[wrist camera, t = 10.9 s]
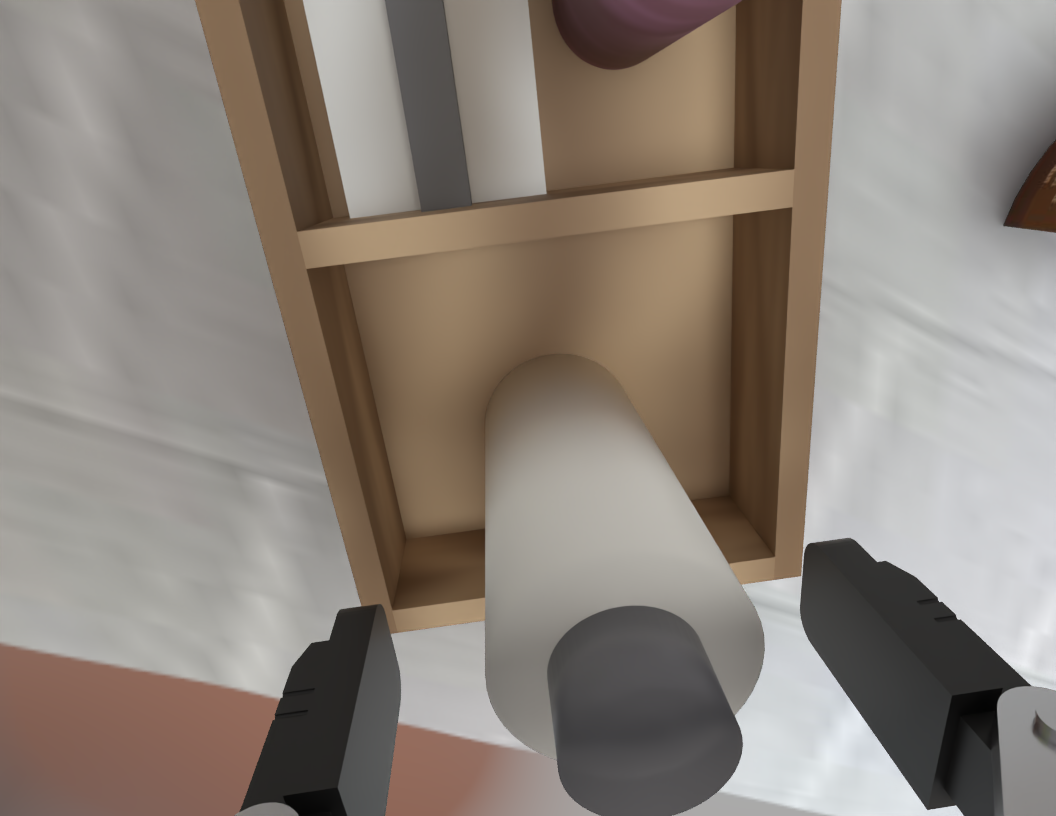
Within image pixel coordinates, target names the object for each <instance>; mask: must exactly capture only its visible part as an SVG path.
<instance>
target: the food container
mask: <svg viewBox="0 0 1056 816" xmlns="http://www.w3.org/2000/svg"><path fill="white" fill-rule="evenodd" d="M1004 226H1008V227H1016V228H1023V229H1031V230H1039V231H1047V232H1055V233H1056V140H1055V141H1054V143H1053V144H1052V145H1051V146H1050V147H1049V148H1048V149H1047V151H1046V152H1045V153H1044V155H1043V156H1042V158H1041V159H1040V160H1039V162H1038V163H1037V164H1036V166H1035V167H1034V168H1033V170H1032V171H1031V172H1030V174H1029V176H1028V178H1027V179H1026V181H1025V183H1024V184H1023V186H1022V188H1021V189H1020V191H1019V193H1018V195H1017V196H1016V198H1015V200H1014V203H1013V205H1012V207H1011V210H1010V212H1009V214H1008V216H1007V219H1006V221H1005V223H1004Z"/></svg>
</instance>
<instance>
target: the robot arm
mask: <svg viewBox="0 0 1056 816" xmlns="http://www.w3.org/2000/svg"><path fill="white" fill-rule="evenodd" d="M800 614H801V620H802V624H803V627H804V630H805V633H806V635H807V637H808V639H809V641H810V643H811V644H812V646H813V647H814V648H815V650H816V651H817V653H818V654H819V656H820V657H821V658H822V660H823V661H824V663H825V664H826V666H827V667H828V668H829V670H830V671H831V673H832V674H833V676H834V677H835V678H836V680H837V681H838V683H839V684H840V686H841V687H842V688H843V690H844V691H845V693H846V694H847V696H848V697H849V698H850V700H851V701H852V703H853V704H854V706H855V707H856V708H857V710H858V711H859V713H860V714H861V716H862V717H863V718H864V720H865V721H866V723H867V724H868V726H869V727H870V728H871V730H872V731H873V733H874V734H875V736H876V737H877V738H878V740H879V741H880V743H881V744H882V746H883V747H884V748H885V750H886V751H887V753H888V754H889V756H890V757H891V759H892V760H893V761H894V763H895V764H896V766H897V767H898V769H899V770H900V771H901V773H902V774H903V776H904V777H905V779H906V780H907V781H908V783H909V784H910V786H911V787H912V789H913V790H914V791H915V793H916V794H917V796H918V797H919V799H920V800H921V801H922V803H923V804H924V806H925V807H926V809H927V810H930V809H936V808H942V807H948V806H955V805H957V807H958V808H959V809H960V811H961V812H962V813H963V815H964V816H1056V691H1055V690H1051V689H1047V688H1042V687H1034V686H1031V685H1030V684H1029V683H1028V682H1027V681H1026V680H1025V679H1023V678H1022V677H1021V676H1020V675H1019V674H1018V673H1017V672H1016V671H1015V670H1014V669H1013V668H1012V667H1011V666H1010V665H1009V664H1008V663H1006V662H1005V661H1004V660H1003V659H1002V658H1001V657H1000V656H999V655H998V654H997V653H996V652H995V651H994V650H993V649H992V648H991V647H989V646H988V645H987V644H986V643H985V642H984V641H983V640H982V639H981V638H980V637H979V636H978V635H977V634H976V633H975V632H974V631H972V630H971V629H970V628H969V627H968V626H967V625H966V624H965V623H964V622H963V621H962V620H958V619H957V618H956V615H955V614H954V613H953V612H952V611H951V610H950V609H949V608H948V607H947V606H946V605H945V604H944V603H943V602H939V601H938V598H937V597H936V596H935V595H934V594H933V593H932V592H931V591H930V590H929V589H928V588H927V587H926V586H925V585H924V584H923V583H921V582H920V581H919V580H918V579H917V578H916V577H915V576H913V575H911V574H909V573H907V572H905V571H904V570H902V569H900V568H898V567H896V566H894V565H892V564H891V563H889V562H887V561H883V562H876V561H875V560H874V559H873V558H872V557H871V556H870V555H869V554H868V553H867V552H866V551H865V550H864V549H863V548H862V547H861V546H860V545H859V544H858V543H857V542H856V541H855V540H853V539H851V538H844V539H837V540H830V541H823V542H816V543H810V544H808V545H807V547H806V549H805V553H804V564H803V576H802V589H801V602H800ZM400 700H401V681H400V671H399V666H398V661H397V657H396V653H395V650H394V646H393V642H392V638H391V634H390V630H389V626H388V622H387V618H386V614H385V610H384V608H383V606H382V605H381V604H375V605H368V606H361V607H354V608H347V609H341V610H340V611H339V612H338V614H337V616H336V620H335V623H334V626H333V630H332V633H331V636H330V640H329V641H322V642H315V643H311V644H310V645H309V647H308V648H307V649H306V650H305V652H304V653H303V654H302V655H301V656H300V658H299V659H298V660H297V661H296V663H295V664H294V665H293V666H292V668H291V671H290V674H289V677H288V679H287V682H286V685H285V688H284V690H283V698H281V699H280V702H279V704H278V707H277V710H276V713H275V720H273V721H272V724H271V727H270V730H269V732H268V735H267V738H266V741H265V743H264V746H263V749H262V752H261V755H260V758H259V761H258V763H257V766H256V769H255V771H254V774H253V777H252V780H251V782H250V785H249V788H248V791H247V794H246V796H245V799H244V802H243V805H242V807H241V809H240V812H239V813H237V814H236V815H235V816H385V811H386V805H387V797H388V790H389V782H390V775H391V768H392V760H393V752H394V745H395V737H396V731H397V723H398V716H399V708H400Z"/></svg>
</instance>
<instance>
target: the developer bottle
mask: <svg viewBox="0 0 1056 816" xmlns="http://www.w3.org/2000/svg"><path fill="white" fill-rule="evenodd" d="M764 651H765V647H764V633H763V629H762V624H761V621H760V618H759V616H758V614H757V611H756V609H755V607H754V606H753V604H752V602H751V601H750V599H749V597H748V596H747V594H746V592H745V591H744V589H743V587H742V586H741V584H740V582H739V581H738V579H737V577H736V576H735V574H734V572H733V571H732V569H731V567H730V566H729V564H728V562H727V561H726V559H725V557H724V556H723V554H722V552H721V551H720V549H719V547H718V546H717V544H716V542H715V541H714V539H713V537H712V536H711V534H710V532H709V531H708V529H707V527H706V526H705V524H704V522H703V521H702V519H701V517H700V516H699V514H698V512H697V511H696V509H695V507H694V506H693V504H692V502H691V501H690V499H689V497H688V496H687V494H686V492H685V491H684V489H683V487H682V486H681V484H680V482H679V481H678V479H677V477H676V476H675V474H674V472H673V471H672V469H671V467H670V466H669V464H668V462H667V461H666V459H665V457H664V456H663V454H662V452H661V451H660V449H659V447H658V446H657V444H656V442H655V441H654V439H653V437H652V436H651V434H650V432H649V431H648V429H647V427H646V426H645V424H644V422H643V421H642V419H641V418H640V416H639V414H638V413H637V411H636V409H635V408H634V406H633V404H632V403H631V401H630V399H629V398H628V396H627V394H626V393H625V391H624V389H623V388H622V386H621V384H620V383H619V381H618V380H617V379H616V378H615V377H614V375H613V374H612V373H610V372H609V371H608V370H607V369H606V368H604V367H603V366H601V365H600V364H598V363H597V362H594V361H592V360H590V359H588V358H585V357H582V356H577V355H572V354H550V355H545V356H540V357H537V358H534V359H531V360H529V361H527V362H525V363H523V364H521V365H520V366H518V367H517V368H515V369H514V370H512V371H511V372H510V373H509V374H508V375H507V376H506V377H505V378H504V379H503V380H502V381H501V382H500V383H499V385H498V386H497V388H496V389H495V391H494V393H493V394H492V396H491V398H490V401H489V404H488V407H487V412H486V418H485V678H486V688H487V692H488V695H489V699H490V702H491V704H492V707H493V709H494V711H495V713H496V715H497V716H498V718H499V719H500V721H501V722H502V723H503V725H504V726H505V727H506V728H507V729H508V730H509V731H510V732H511V734H512V735H513V736H514V737H516V738H517V739H518V740H520V741H521V742H522V743H523V744H525V745H526V746H528V747H529V748H531V749H533V750H535V751H536V752H538V753H540V754H542V755H545V756H547V757H550V758H552V759H554V760H557V765H558V772H559V776H560V780H561V782H562V785H563V787H564V788H565V790H566V791H567V793H568V794H569V795H570V796H571V798H573V799H574V801H576V802H577V803H578V804H579V805H581V806H582V807H584V808H586V809H587V810H589V811H591V812H594V813H596V814H598V815H601V816H672V815H676V814H678V813H681V812H684V811H687V810H689V809H691V808H693V807H695V806H697V805H699V804H701V803H702V802H704V801H706V800H707V799H709V798H710V797H711V796H713V795H714V794H715V793H717V792H718V791H719V790H720V789H721V788H722V787H723V786H724V785H725V784H726V783H727V781H728V780H729V779H730V778H731V776H732V775H733V773H734V772H735V770H736V768H737V766H738V764H739V761H740V758H741V754H742V747H743V742H742V734H741V730H740V727H739V725H738V723H737V721H736V718H735V715H736V714H737V712H738V711H739V710H740V709H741V707H742V706H743V705H744V704H745V702H746V701H747V699H748V698H749V696H750V694H751V693H752V691H753V689H754V687H755V685H756V683H757V681H758V678H759V675H760V672H761V669H762V665H763V659H764Z"/></svg>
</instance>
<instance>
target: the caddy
mask: <svg viewBox="0 0 1056 816" xmlns="http://www.w3.org/2000/svg"><path fill="white" fill-rule="evenodd" d="M841 1H842V0H195V2H196V6H197V9H198V13H199V16H200V20H201V24H202V27H203V31H204V35H205V38H206V42H207V46H208V49H209V53H210V56H211V60H212V64H213V67H214V71H215V75H216V78H217V82H218V86H219V89H220V93H221V97H222V100H223V104H224V107H225V111H226V115H227V118H228V122H229V126H230V129H231V133H232V137H233V140H234V144H235V147H236V151H237V155H238V158H239V162H240V166H241V169H242V173H243V177H244V180H245V184H246V187H247V191H248V195H249V198H250V202H251V206H252V209H253V213H254V217H255V220H256V224H257V227H258V231H259V235H260V238H261V242H262V246H263V249H264V253H265V257H266V260H267V264H268V268H269V271H270V275H271V278H272V282H273V286H274V289H275V293H276V297H277V300H278V304H279V308H280V311H281V315H282V318H283V322H284V326H285V329H286V333H287V337H288V340H289V344H290V348H291V351H292V355H293V358H294V362H295V366H296V369H297V373H298V377H299V380H300V384H301V388H302V391H303V395H304V398H305V402H306V406H307V409H308V413H309V417H310V420H311V424H312V428H313V431H314V435H315V439H316V442H317V446H318V449H319V453H320V457H321V460H322V464H323V468H324V471H325V475H326V479H327V482H328V486H329V489H330V493H331V497H332V500H333V504H334V508H335V511H336V515H337V519H338V522H339V526H340V529H341V533H342V537H343V540H344V544H345V548H346V551H347V555H348V559H349V562H350V566H351V569H352V573H353V577H354V580H355V584H356V588H357V591H358V595H359V599H360V602H361V606H368V605H375V604H381V605H382V606H383V608H384V610H385V614H386V618H387V622H388V626H389V630H390V634H392V633H399V632H406V631H413V630H420V629H428V628H435V627H442V626H449V625H456V624H463V623H470V622H477V621H484V620H485V418H486V412H487V407H488V404H489V401H490V398H491V396H492V394H493V393H494V391H495V389H496V388H497V386H498V385H499V383H500V382H501V381H502V380H503V379H504V378H505V377H506V376H507V375H508V374H509V373H510V372H511V371H512V370H514V369H515V368H517V367H518V366H520V365H521V364H523V363H525V362H527V361H529V360H531V359H534V358H537V357H540V356H545V355H550V354H572V355H577V356H582V357H585V358H588V359H590V360H592V361H594V362H597V363H598V364H600V365H601V366H603V367H604V368H606V369H607V370H608V371H609V372H610V373H612V374H613V375H614V377H615V378H616V379H617V380H618V381H619V383H620V384H621V386H622V388H623V389H624V391H625V393H626V394H627V396H628V398H629V399H630V401H631V403H632V404H633V406H634V408H635V409H636V411H637V413H638V414H639V416H640V418H641V419H642V421H643V422H644V424H645V426H646V427H647V429H648V431H649V432H650V434H651V436H652V437H653V439H654V441H655V442H656V444H657V446H658V447H659V449H660V451H661V452H662V454H663V456H664V457H665V459H666V461H667V462H668V464H669V466H670V467H671V469H672V471H673V472H674V474H675V476H676V477H677V479H678V481H679V482H680V484H681V486H682V487H683V489H684V491H685V492H686V494H687V496H688V497H689V499H690V501H691V502H692V504H693V506H694V507H695V509H696V511H697V512H698V514H699V516H700V517H701V519H702V521H703V522H704V524H705V526H706V527H707V529H708V531H709V532H710V534H711V536H712V537H713V539H714V541H715V542H716V544H717V546H718V547H719V549H720V551H721V552H722V554H723V556H724V557H725V559H726V561H727V562H728V564H729V566H730V567H731V569H732V571H733V572H734V574H735V576H736V577H737V579H738V581H739V582H740V584H748V583H755V582H762V581H769V580H776V579H783V578H791V577H798V576H801V568H802V554H803V540H804V525H805V511H806V497H807V483H808V469H809V454H810V440H811V426H812V412H813V398H814V384H815V369H816V355H817V341H818V327H819V313H820V298H821V284H822V270H823V256H824V242H825V228H826V213H827V199H828V185H829V171H830V157H831V142H832V128H833V114H834V100H835V86H836V72H837V57H838V43H839V29H840V15H841Z"/></svg>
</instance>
